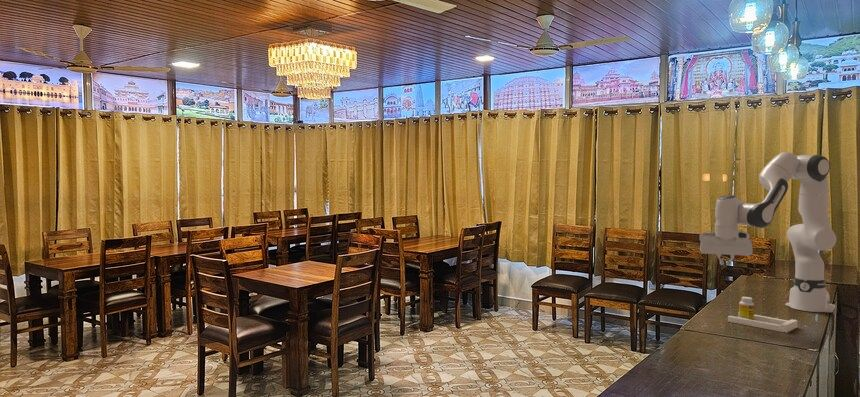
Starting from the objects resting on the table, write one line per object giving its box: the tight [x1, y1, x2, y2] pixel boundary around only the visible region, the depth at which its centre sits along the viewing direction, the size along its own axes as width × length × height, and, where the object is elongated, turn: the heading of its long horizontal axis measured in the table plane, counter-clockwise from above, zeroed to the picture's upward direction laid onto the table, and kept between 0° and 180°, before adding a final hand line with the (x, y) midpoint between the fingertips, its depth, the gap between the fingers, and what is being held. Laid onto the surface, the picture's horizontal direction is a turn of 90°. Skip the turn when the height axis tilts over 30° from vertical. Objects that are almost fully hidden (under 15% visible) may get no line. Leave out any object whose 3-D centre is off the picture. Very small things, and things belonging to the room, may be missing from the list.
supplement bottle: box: [738, 296, 755, 320], centre depth 237 cm, size 6×6×10 cm
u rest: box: [727, 312, 798, 334], centre depth 233 cm, size 12×22×3 cm, turn 39°
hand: (725, 264), depth 243 cm, fingers closed
